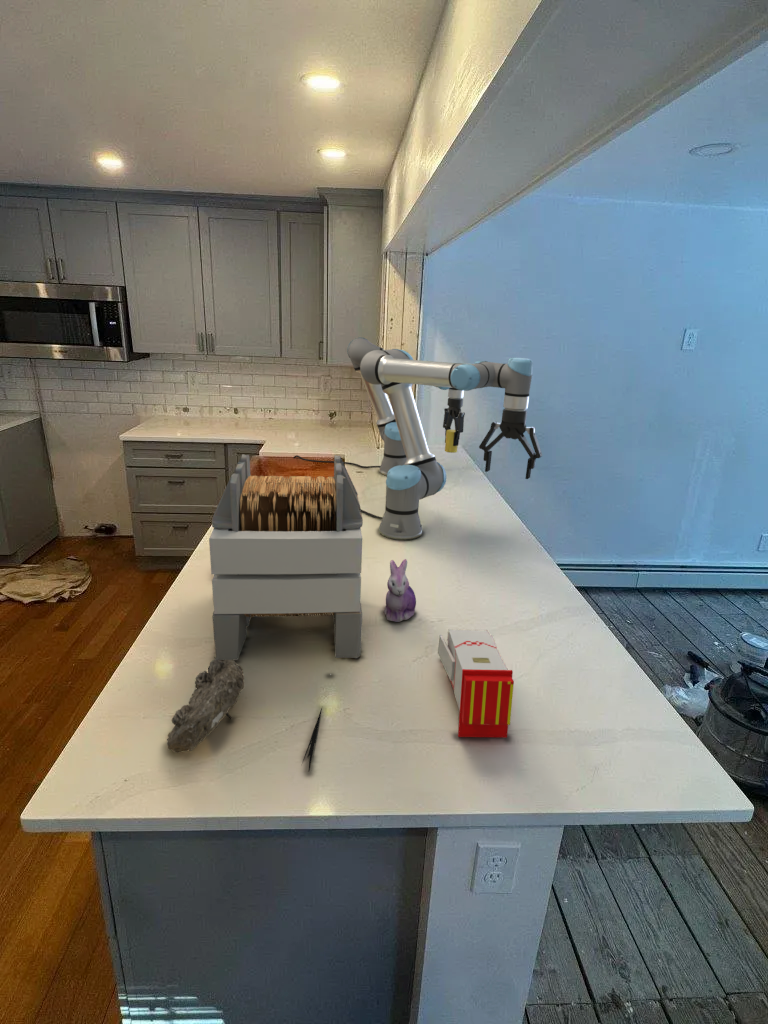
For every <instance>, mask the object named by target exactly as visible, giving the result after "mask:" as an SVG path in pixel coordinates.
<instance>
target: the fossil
mask: <svg viewBox="0 0 768 1024" xmlns="http://www.w3.org/2000/svg"><path fill="white" fill-rule="evenodd" d="M243 670H244V669H243V667H242V665H240V664H237V662H236V660H232V659H231V660H228V659H227V660H221V661H217V660H215V659H212V660H211V661H210V663H209V665H208V666H207V671H201V672H199V673H198V674H197V675H196V676H195V680H194V684H195V685H194V687H195V689H194V690H193V693H192V694H191V697H190V698H189V700H188V704H184V705H182V706H181V707H180V709H177V710H176V711H175V713H174V715H173V716H172V718H171V723H172V724H173V727H172V730H171V731H170V732H168V734H167V738H166V741H167V742H166V745H167V749H168V750H169V751H173V752H174V753H176V754H178V753H182V752H188V751H189V752H192V751H193V750H195V748H196V747H197V746H199V744H200V743H201V742H203V741H204V740H205V739H206V738H207V737H208V736H209V735H210V734H211V733H212V732H214V730H215V729H217V727H218V726H219V724H220V722H221V721H222V720H223V719H224V718H225V716H226V717H227V719H229V720H233V717H232V715H230V714H229V710H230V709H231V708H234V706H235V704H236V703H237V702H238V699H239V697H240V695H241V693H242V691H243V690H245V689H244V688H245V675H244V671H243Z"/></svg>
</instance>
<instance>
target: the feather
mask: <svg viewBox="0 0 768 1024" xmlns="http://www.w3.org/2000/svg"><path fill="white" fill-rule="evenodd" d="M329 675H330V676H331V675H332V674H331V673H330V674H329ZM322 710H323V707H321V708H320V710H319V713H318V716H317V719H316V723H315V725H314V728H313V731H312V733H311V737H310V739H309V742H308V745H307V748H306V751H305V754H304V757H303V760H302V763H301V767H302V765H303V763H304V761H305V758H308V759H309V760H308V762H307V763H308V764H307V766H308V771H310V770H311V766H312V765H311V764H312V760H313V757H315V756H314V755H315V751H316V749H315V746H317V739H318V733H319V729H320V722H321V717H322V712H323V711H322ZM313 754H314V755H313ZM306 755H307V757H306Z"/></svg>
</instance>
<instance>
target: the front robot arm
mask: <svg viewBox="0 0 768 1024" xmlns="http://www.w3.org/2000/svg"><path fill="white" fill-rule="evenodd" d="M533 365H534V362H533V360H532V359H531V358H527V357H526V358H525V357H510V358H509V359H508V361H507V363H502V362H501V363H500V362H493V361H487V360H481V361H480V360H477V361H474V362H473V363H463V362H462V363H461V362H447V361H434V360H421V359H420V360H419V359H414V358H413V356H412V355H411V354H410V353H409V352H408V351H406V350H405V349H398V348H390V349H384V350H374V351H371V352H369V353H367V354H366V355H365V356H364V357H363V359H362V361H361V364H360V371H361V374H362V376H363V378H364V379H365V380H366V381H367V382H369V383H371V384H375V385H379V384H381V387H382V390H383V392H384V393H386V394H387V396H388V398H389V401H390V404H391V406H392V410H393V413H394V417H395V420H396V423H397V427H398V430H399V434H400V437H401V441H402V444H403V447H404V451H405V454H406V458H407V460H406V462H405V464H404V465H402V466H401V465H398V466H395V467H393V468H391V469H390V470H389V471H388V473H387V476H386V479H385V504H384V505H385V507H384V508H385V509H384V513H383V515H382V516H379V515H376V514H373V513H370V512H369V511H365V510H363V509H361V513H363V514H365V515H368V516H370V517H373V518H375V519H379V520H381V522H379V527H378V533H379V534H380V535H381V536H382V537H385V538H387V539H389V540H395V541H410V540H415V539H418V538H420V537H421V536H422V535H423V525H422V524H421V518H420V515H419V507H420V506H419V505H420V500H423V499H425V498H428V497H430V496H434V495H436V494H437V493H439V492H440V491H442V490H443V489H444V487H445V485H446V483H447V471H446V468H445V467H444V465H443V464H441V463H440V462H438V461H437V459H436V455H435V454H433V453H431V452H430V449H429V446H428V443H427V438H426V435H425V432H424V429H423V428H424V427H423V425H422V421H421V418H420V414H419V411H418V407H417V404H416V400H415V396H414V392H413V389H412V387H413V385H418V386H419V385H420V386H429V387H430V386H431V387H435V386H439V387H450V388H456V389H458V390H461V391H464V392H468V391H472V390H477V389H483V388H490V387H491V388H498V389H499V388H500V389H504V396H503V405H502V407H503V409H502V413H501V422H498V421H496V420H495V421H492V422H491V423H490V428H489V429H488V431H487V433H486V434H485V436H484V438H483V440H482V441H481V443H480V444H479V446H478V448H479V449H480V450H482V451H484V452H483V461H484V462H485V467H484V472H485V473H487V472H489V471H490V470H491V465H492V464H491V463H492V457H493V456H492V455H493V451H492V450H491V449H492V448H493V447H494V446H495V445H497V444H498V443H499V442H500V441H501V440H502V439H503V438H505V439H510V440H511V439H512V440H518V441H519V443H520V444H521V445H522V447H523V448H524V450H525V451H526V453H527V455H528V456H529V458H528V459H527V463H526V471H525V479H526V480H528V479H530V478H531V473H532V470H534V469H535V467H536V460H537V459H541V458H542V457H543V452H542V449H541V446H540V443H539V441H538V437H537V435H536V427H535V426H527V425H526V423H527V418H528V417H527V416H528V411H527V410H528V409H529V408H528V407H529V401H530V392H531V385H532V378H533V367H534V366H533ZM498 429H499V430H500V431H501V432H500V433H499V434H498V435H497V436H496V437H495V438H494V439H493V440H492V441H490V440H491V438H492V436H493V435H494V433H495V431H496V430H498ZM526 432H527V434H528V435H529V438H530V442H531V444H530V443H529V441H528V440H527V437H526V436H525V433H526ZM489 441H490V443H489ZM488 443H489V444H488ZM487 444H488V445H487ZM531 445H532V446H531ZM532 447H533V448H532Z"/></svg>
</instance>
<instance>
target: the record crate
mask: <svg viewBox="0 0 768 1024" xmlns="http://www.w3.org/2000/svg"><path fill="white" fill-rule="evenodd" d="M333 461H334V463H333V469H334V470H333V476H327V477H325V476H321V475H319V476H314V477H313V476H311V475H309V476H307V475H290V476H283V475H279V476H278V475H265V476H264V475H259V476H258V475H251V459H250V454H243V453H242V454H241V456H240V459H239V461H238V462H237V464H236V466H235V469H234V471H233V473H232V474H231V475H230V478H229V479H228V482H227V484H226V486H225V489H224V491H223V493H222V496H221V498H220V500H219V502H218V504H217V507H216V508H215V511H214V513H213V516H212V518H211V527H212V528H213V529H212V531H211V534H210V535H209V538H208V543H209V559H210V574H211V575H213V576H212V579H211V587H212V588H211V589H212V600H213V601H212V603H213V612H212V629H213V630H212V631H213V640H214V649H215V657H214V660H217V661H224V660H227V659H228V660H231V659H232V660H234V661H238V660H239V658H240V654H241V653H242V649H243V647H244V645H245V642H246V640H247V636H248V632H247V630H248V629H247V627H249V626H250V624H251V623H250V622H251V618H253V617H254V618H255V617H258V618H259V617H264V618H265V617H267V618H268V617H292V616H293V617H308V616H310V617H311V616H333V618H332V619H333V626H334V627H333V636H334V638H333V639H334V640H333V641H334V658H337V659H342V658H344V659H345V658H347V659H349V658H352V659H358V658H359V657H361V656H362V633H363V632H362V631H363V630H362V629H363V611H362V603H361V590H362V576H361V574H362V563H363V562H362V561H363V534H362V529H361V528H362V527H363V525H364V524H363V523H364V519H363V515H362V512H361V510H362V509H361V505H360V499H359V494H358V492H357V489H356V487H355V485H354V483H353V481H352V478H351V477H350V474H349V472H348V470H347V468H346V466H345V465H346V464H344V463H343V462H344V461H343V459H342V456H341V455H336V454H334V458H333Z"/></svg>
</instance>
